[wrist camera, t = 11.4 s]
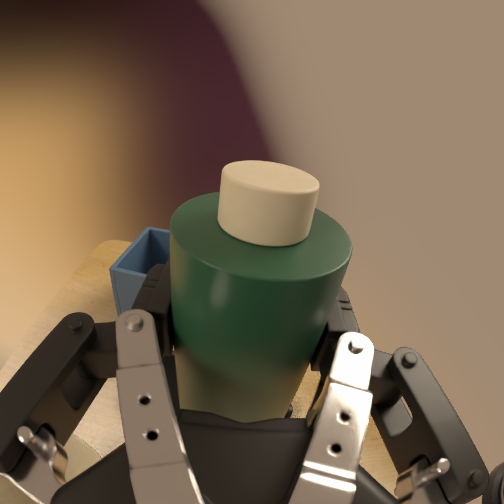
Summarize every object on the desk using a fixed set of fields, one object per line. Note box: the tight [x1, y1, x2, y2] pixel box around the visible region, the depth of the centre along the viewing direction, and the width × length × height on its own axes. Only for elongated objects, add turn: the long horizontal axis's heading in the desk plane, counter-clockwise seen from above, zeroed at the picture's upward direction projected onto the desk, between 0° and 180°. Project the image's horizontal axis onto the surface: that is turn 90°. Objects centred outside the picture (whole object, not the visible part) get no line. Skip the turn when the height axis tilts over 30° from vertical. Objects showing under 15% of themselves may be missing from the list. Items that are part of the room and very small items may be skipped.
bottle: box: [170, 161, 352, 423], centre depth 11 cm, size 5×5×12 cm
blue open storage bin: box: [109, 227, 170, 317], centre depth 36 cm, size 13×10×8 cm
